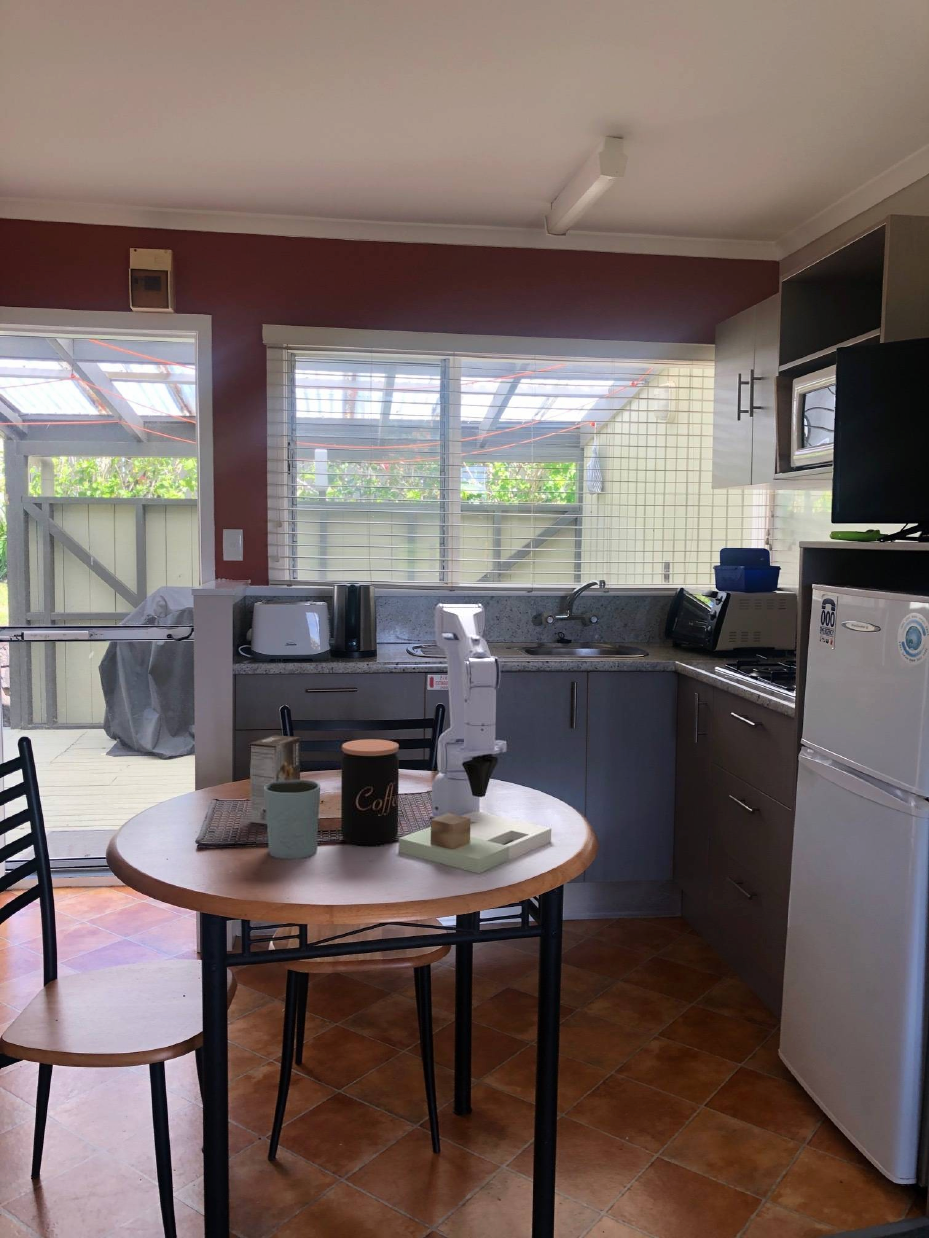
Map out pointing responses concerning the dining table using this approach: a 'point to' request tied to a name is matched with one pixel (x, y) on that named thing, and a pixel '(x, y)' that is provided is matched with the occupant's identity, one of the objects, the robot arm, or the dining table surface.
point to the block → (450, 831)
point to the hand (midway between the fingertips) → (478, 795)
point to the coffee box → (271, 768)
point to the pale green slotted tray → (480, 843)
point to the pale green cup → (292, 818)
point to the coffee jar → (369, 792)
